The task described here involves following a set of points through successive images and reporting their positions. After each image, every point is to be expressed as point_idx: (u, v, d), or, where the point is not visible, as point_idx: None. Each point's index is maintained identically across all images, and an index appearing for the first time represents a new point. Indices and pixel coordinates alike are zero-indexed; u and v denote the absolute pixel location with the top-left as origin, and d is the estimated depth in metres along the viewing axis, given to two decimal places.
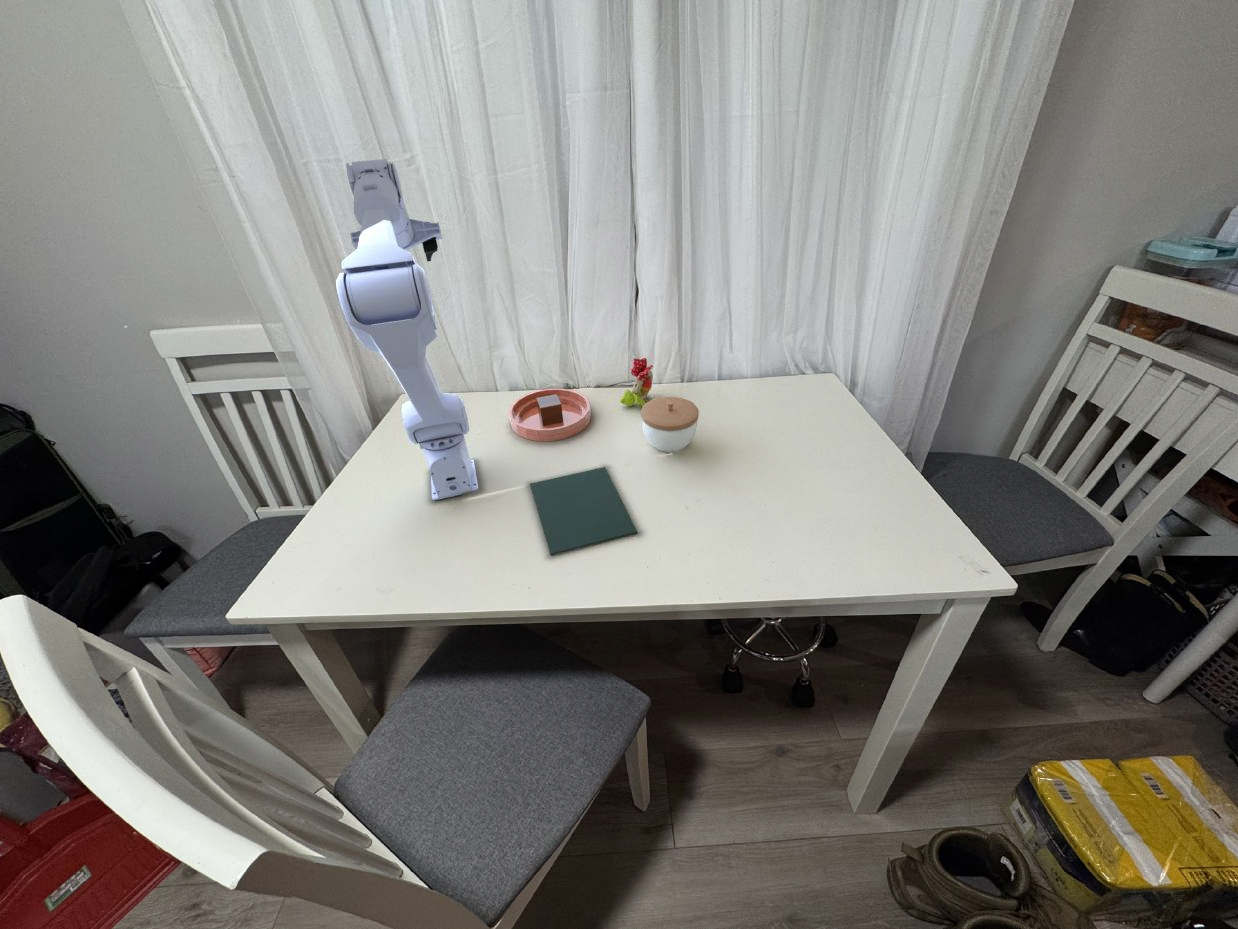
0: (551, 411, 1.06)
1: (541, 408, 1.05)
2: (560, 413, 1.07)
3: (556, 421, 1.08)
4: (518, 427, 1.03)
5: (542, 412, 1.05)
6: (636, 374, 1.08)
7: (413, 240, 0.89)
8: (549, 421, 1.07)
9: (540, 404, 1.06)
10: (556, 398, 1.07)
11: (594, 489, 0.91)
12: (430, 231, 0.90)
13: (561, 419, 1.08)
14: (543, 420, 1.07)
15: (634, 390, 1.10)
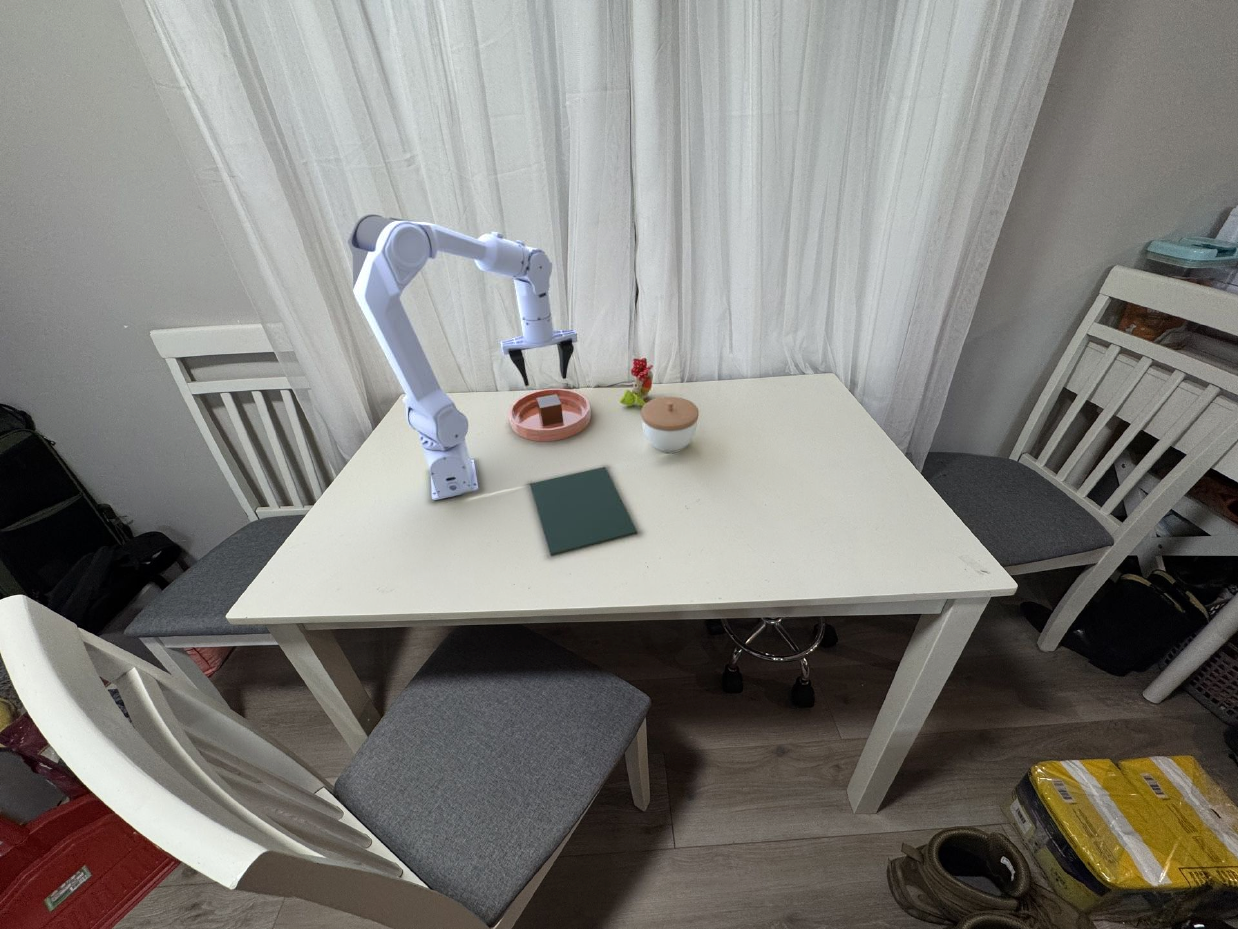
0: (551, 411, 1.06)
1: (541, 408, 1.05)
2: (560, 413, 1.07)
3: (556, 421, 1.08)
4: (518, 427, 1.03)
5: (542, 412, 1.05)
6: (636, 374, 1.08)
7: (553, 338, 0.98)
8: (549, 421, 1.07)
9: (540, 404, 1.06)
10: (556, 398, 1.07)
11: (594, 489, 0.91)
12: (567, 334, 1.00)
13: (561, 419, 1.08)
14: (543, 420, 1.07)
15: (634, 390, 1.10)
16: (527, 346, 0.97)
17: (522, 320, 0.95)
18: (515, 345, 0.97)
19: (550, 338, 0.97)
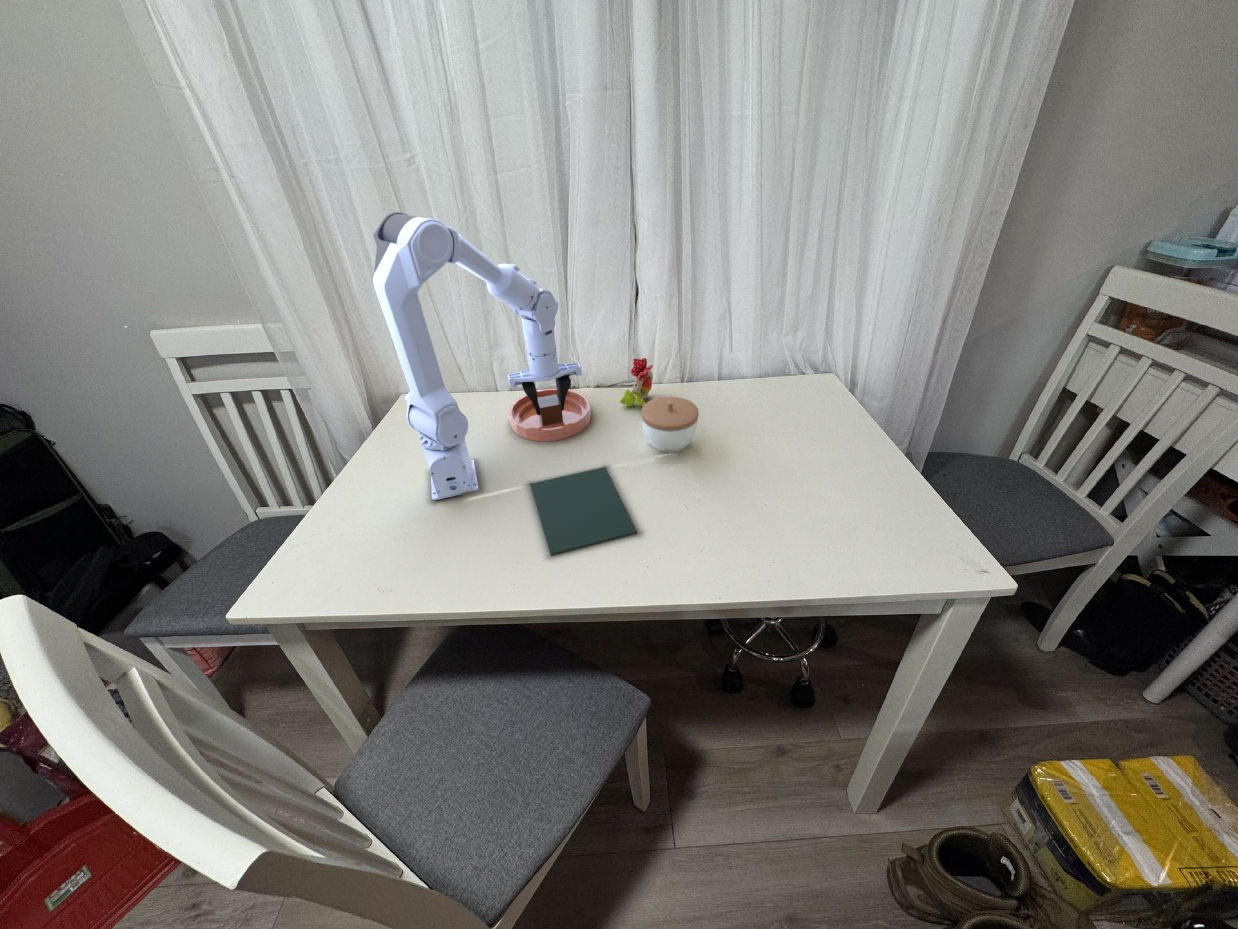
0: (550, 411, 1.06)
1: (541, 408, 1.05)
2: (560, 413, 1.07)
3: (556, 421, 1.08)
4: (518, 427, 1.03)
5: (542, 412, 1.05)
6: (636, 374, 1.08)
7: (558, 372, 1.02)
8: (549, 421, 1.07)
9: (540, 404, 1.06)
10: (555, 398, 1.07)
11: (594, 489, 0.91)
12: (572, 367, 1.04)
13: (561, 419, 1.08)
14: (543, 420, 1.07)
15: (634, 390, 1.10)
16: (533, 380, 1.01)
17: (529, 355, 0.99)
18: (522, 379, 1.01)
19: (555, 372, 1.01)
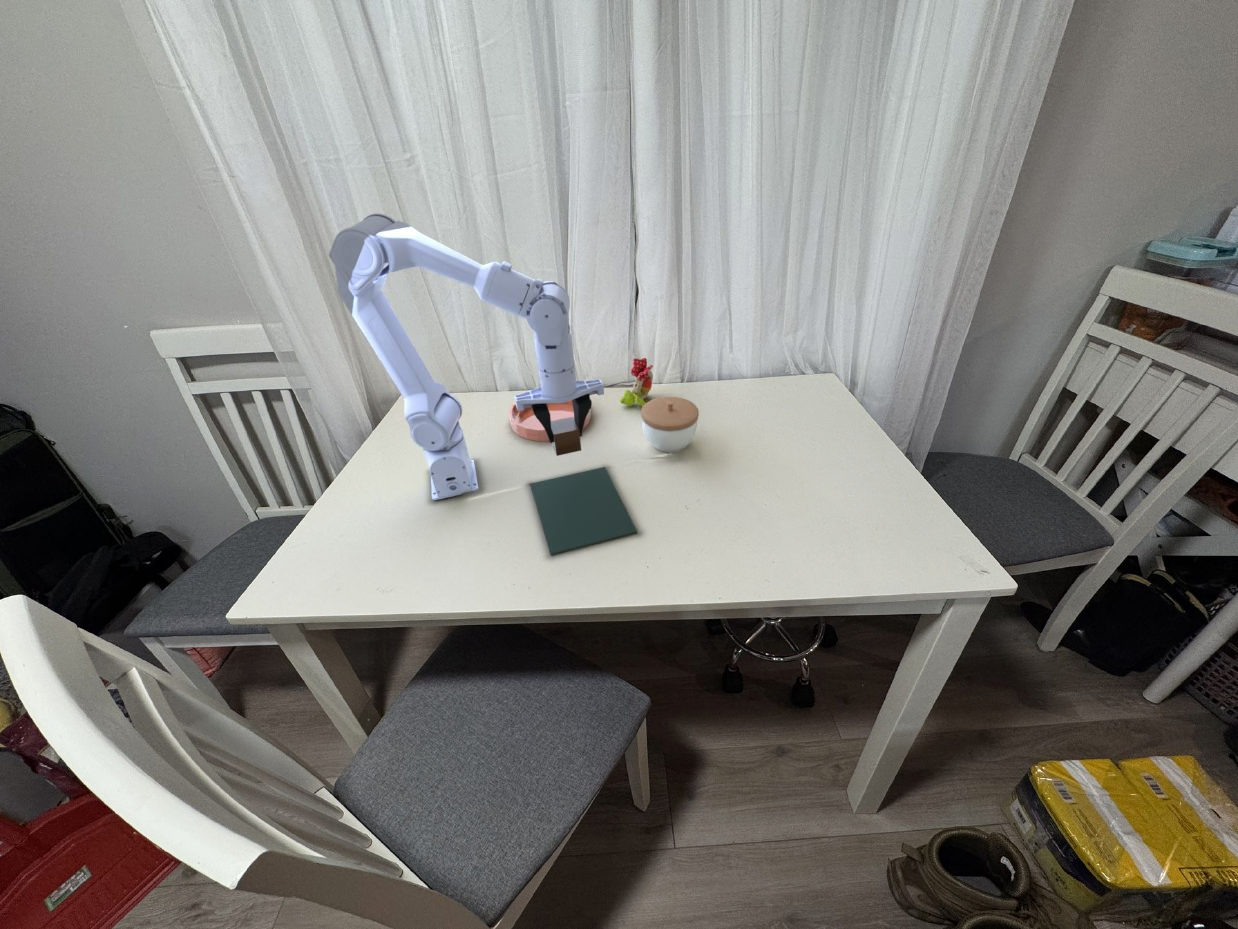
0: (566, 438, 0.87)
1: (555, 435, 0.86)
2: (577, 440, 0.88)
3: (573, 450, 0.89)
4: (518, 427, 1.03)
5: (556, 439, 0.87)
6: (636, 374, 1.08)
7: (576, 391, 0.83)
8: (564, 450, 0.88)
9: (553, 430, 0.87)
10: (572, 422, 0.89)
11: (594, 489, 0.91)
12: (592, 385, 0.85)
13: (579, 447, 0.89)
14: (557, 449, 0.88)
15: (634, 390, 1.10)
16: (546, 401, 0.82)
17: (540, 372, 0.80)
18: (532, 400, 0.82)
19: (573, 392, 0.82)
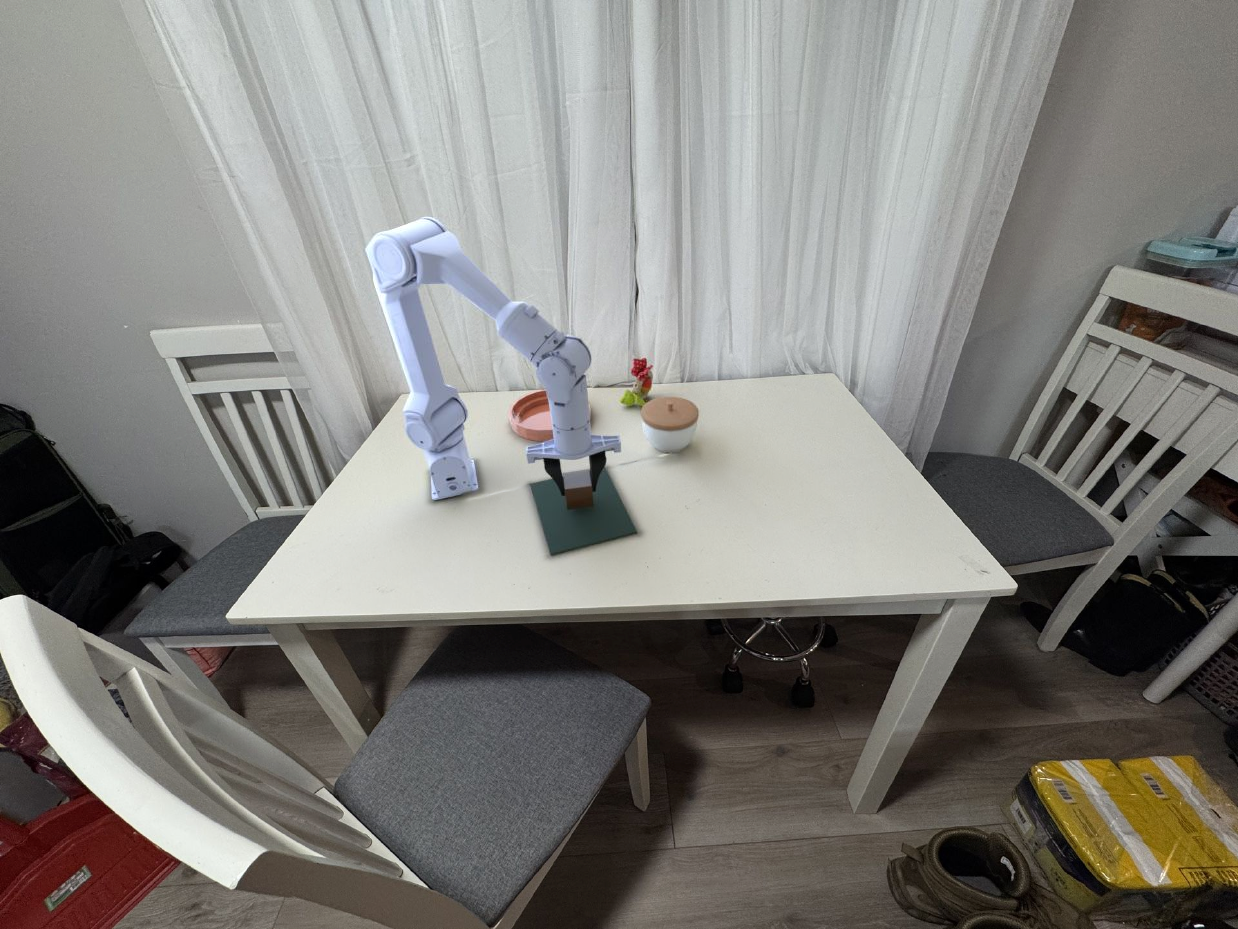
0: (578, 494, 0.83)
1: (566, 490, 0.82)
2: (590, 496, 0.83)
3: (584, 505, 0.84)
4: (518, 427, 1.03)
5: (567, 494, 0.82)
6: (636, 374, 1.08)
7: (590, 448, 0.78)
8: (575, 505, 0.84)
9: (565, 483, 0.83)
10: (586, 477, 0.84)
11: None
12: (609, 442, 0.80)
13: (591, 503, 0.84)
14: (568, 503, 0.83)
15: (634, 390, 1.10)
16: (557, 457, 0.78)
17: (553, 427, 0.76)
18: (542, 454, 0.78)
19: (586, 449, 0.78)
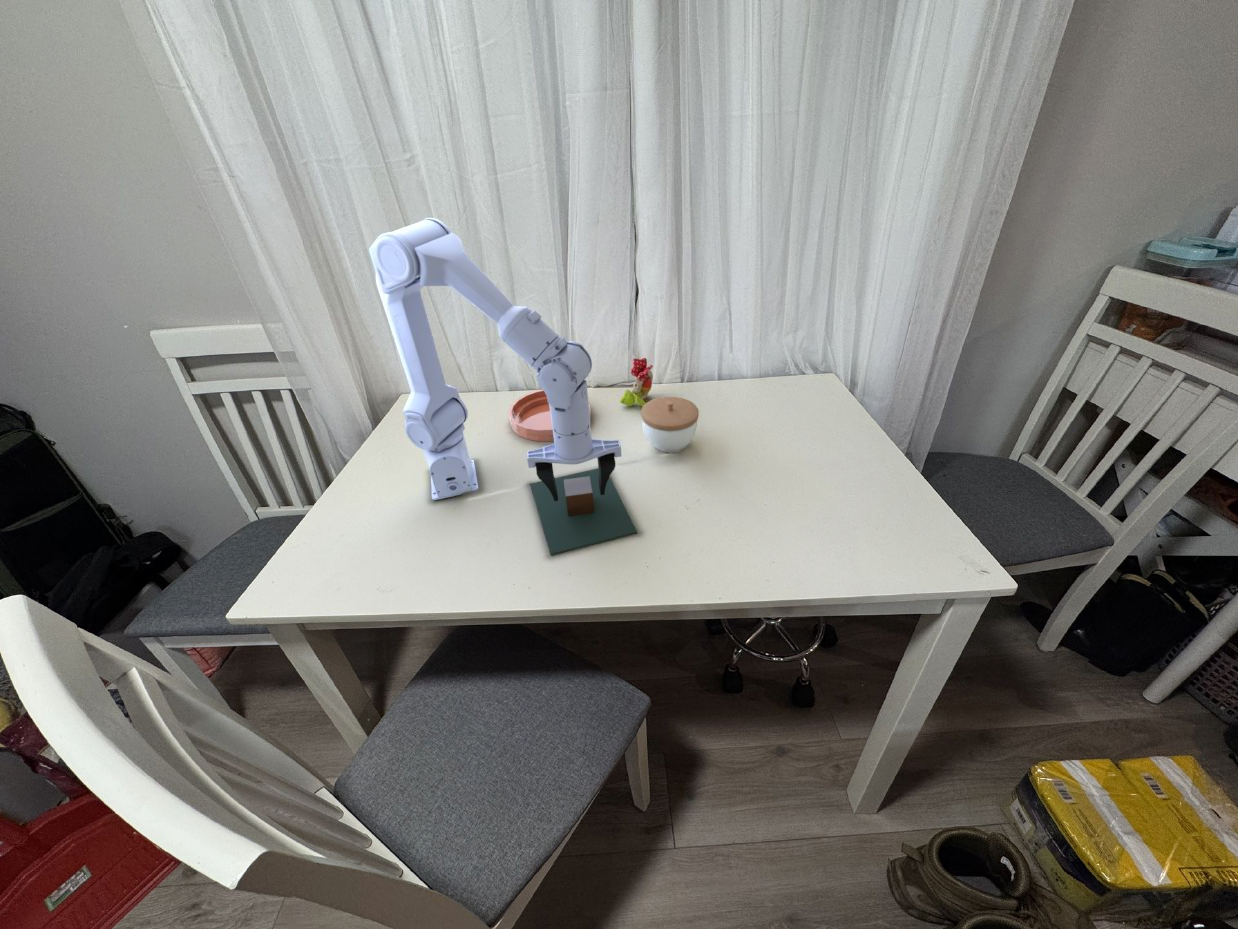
0: (579, 501, 0.83)
1: (567, 496, 0.83)
2: (591, 503, 0.84)
3: (585, 511, 0.85)
4: (518, 427, 1.03)
5: (568, 501, 0.83)
6: (636, 374, 1.08)
7: (591, 453, 0.79)
8: (576, 511, 0.85)
9: (566, 490, 0.84)
10: (587, 483, 0.85)
11: (594, 489, 0.91)
12: (609, 447, 0.80)
13: (592, 509, 0.85)
14: (569, 510, 0.84)
15: (634, 390, 1.10)
16: (557, 461, 0.78)
17: (554, 432, 0.76)
18: (543, 459, 0.78)
19: (587, 453, 0.78)
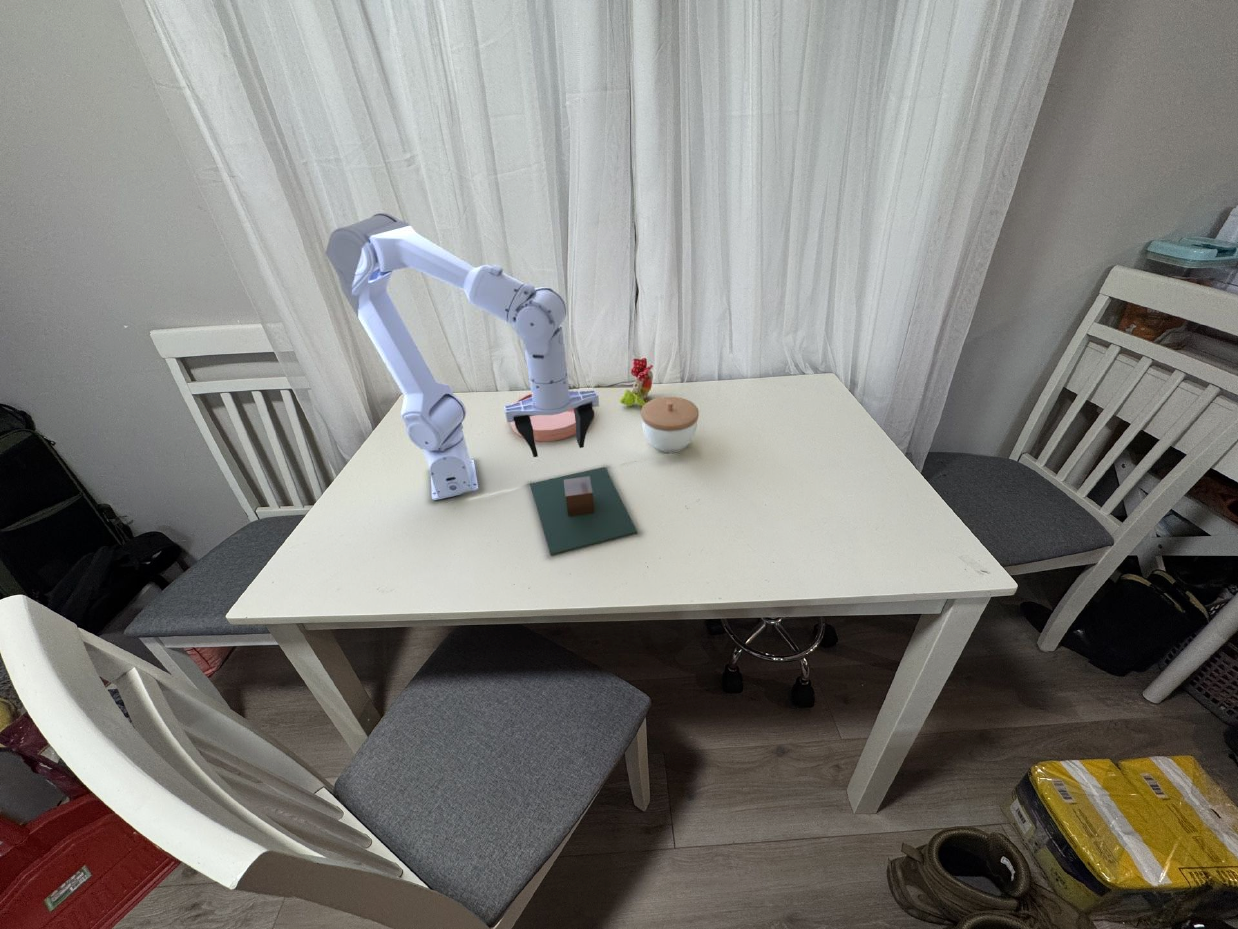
0: (579, 501, 0.83)
1: (567, 496, 0.83)
2: (591, 503, 0.84)
3: (585, 511, 0.85)
4: None
5: (568, 501, 0.83)
6: (636, 374, 1.08)
7: (569, 403, 0.79)
8: (576, 511, 0.85)
9: (566, 490, 0.84)
10: (587, 483, 0.85)
11: (594, 489, 0.91)
12: (587, 396, 0.81)
13: (592, 509, 0.85)
14: (569, 510, 0.84)
15: (634, 390, 1.10)
16: (537, 413, 0.78)
17: (531, 382, 0.76)
18: (522, 412, 0.78)
19: (565, 403, 0.78)
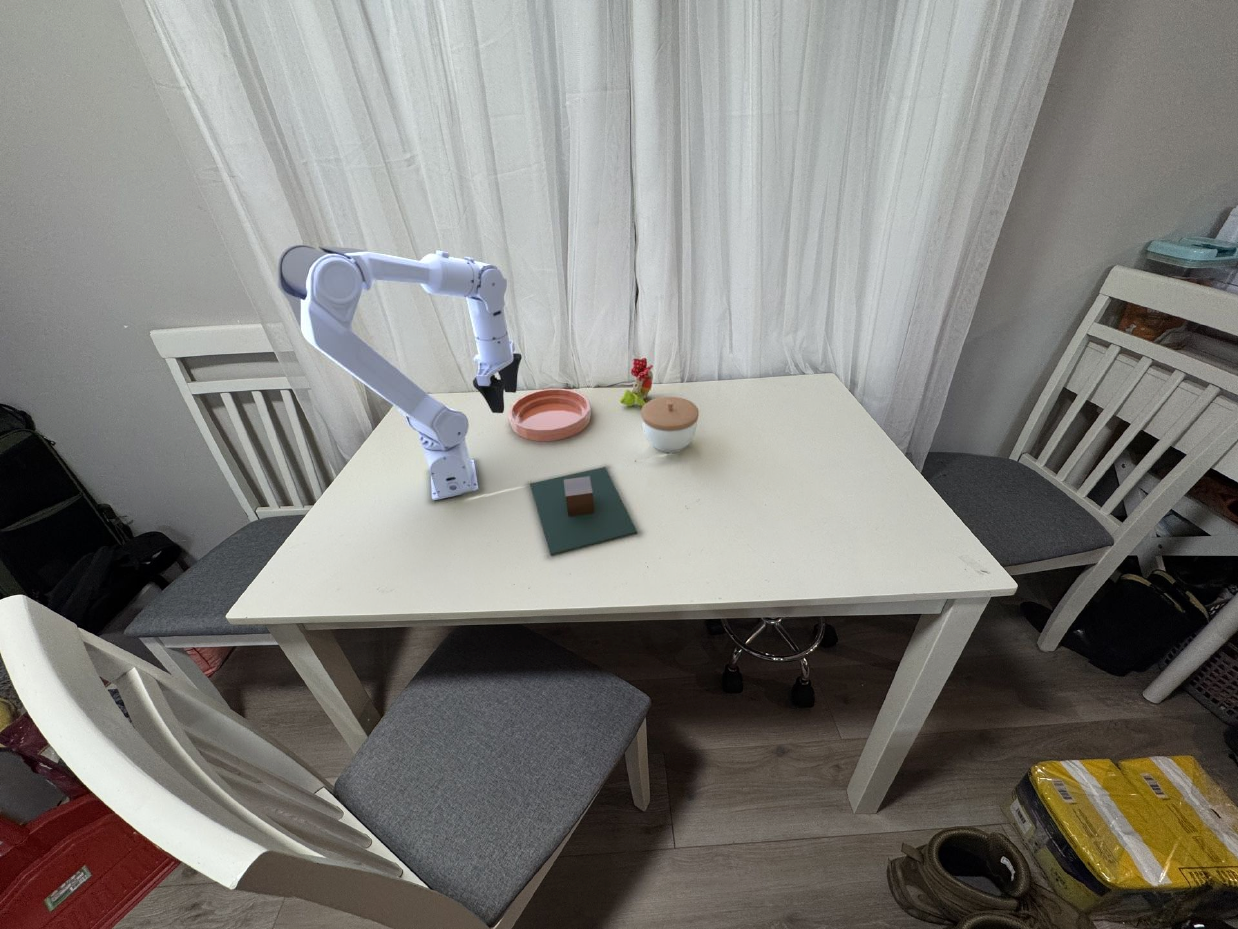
0: (579, 501, 0.83)
1: (567, 496, 0.83)
2: (591, 503, 0.84)
3: (585, 511, 0.85)
4: (518, 427, 1.03)
5: (568, 501, 0.83)
6: (636, 374, 1.08)
7: None
8: (576, 511, 0.85)
9: (566, 490, 0.84)
10: (587, 483, 0.85)
11: (594, 489, 0.91)
12: None
13: (592, 509, 0.85)
14: (569, 510, 0.84)
15: (634, 390, 1.10)
16: (503, 366, 0.91)
17: (491, 341, 0.88)
18: (495, 370, 0.89)
19: None
